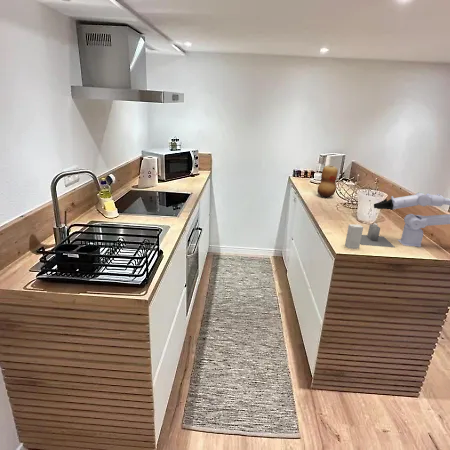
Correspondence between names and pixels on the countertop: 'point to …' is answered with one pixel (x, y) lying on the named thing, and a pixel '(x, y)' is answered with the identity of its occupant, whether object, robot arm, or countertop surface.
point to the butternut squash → (328, 181)
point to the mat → (381, 241)
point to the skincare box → (353, 236)
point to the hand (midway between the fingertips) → (375, 206)
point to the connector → (373, 232)
